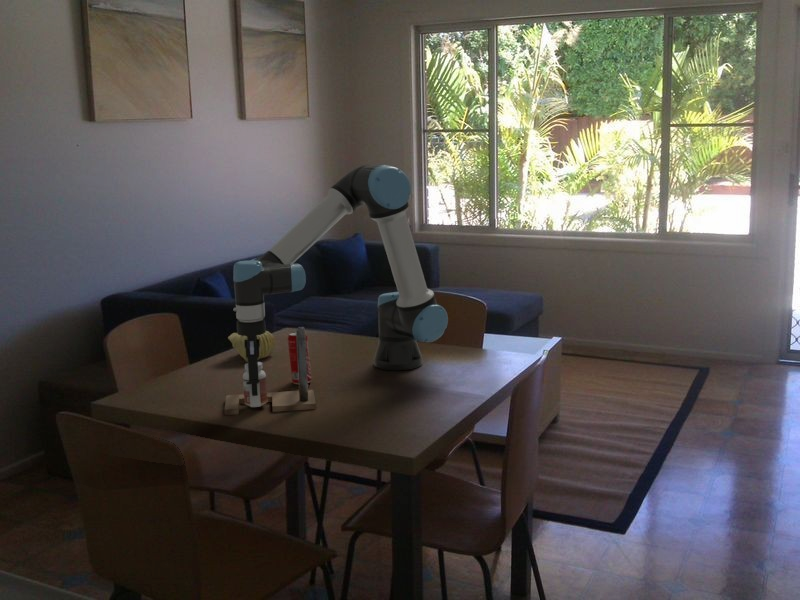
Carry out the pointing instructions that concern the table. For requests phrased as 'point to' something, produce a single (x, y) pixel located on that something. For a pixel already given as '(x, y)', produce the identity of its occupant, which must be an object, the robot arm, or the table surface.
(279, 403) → the notched tan block
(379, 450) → the table surface
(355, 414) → the table surface
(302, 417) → the table surface
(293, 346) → the beverage can
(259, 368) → the pill bottle
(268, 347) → the seashell
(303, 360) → the hook post
